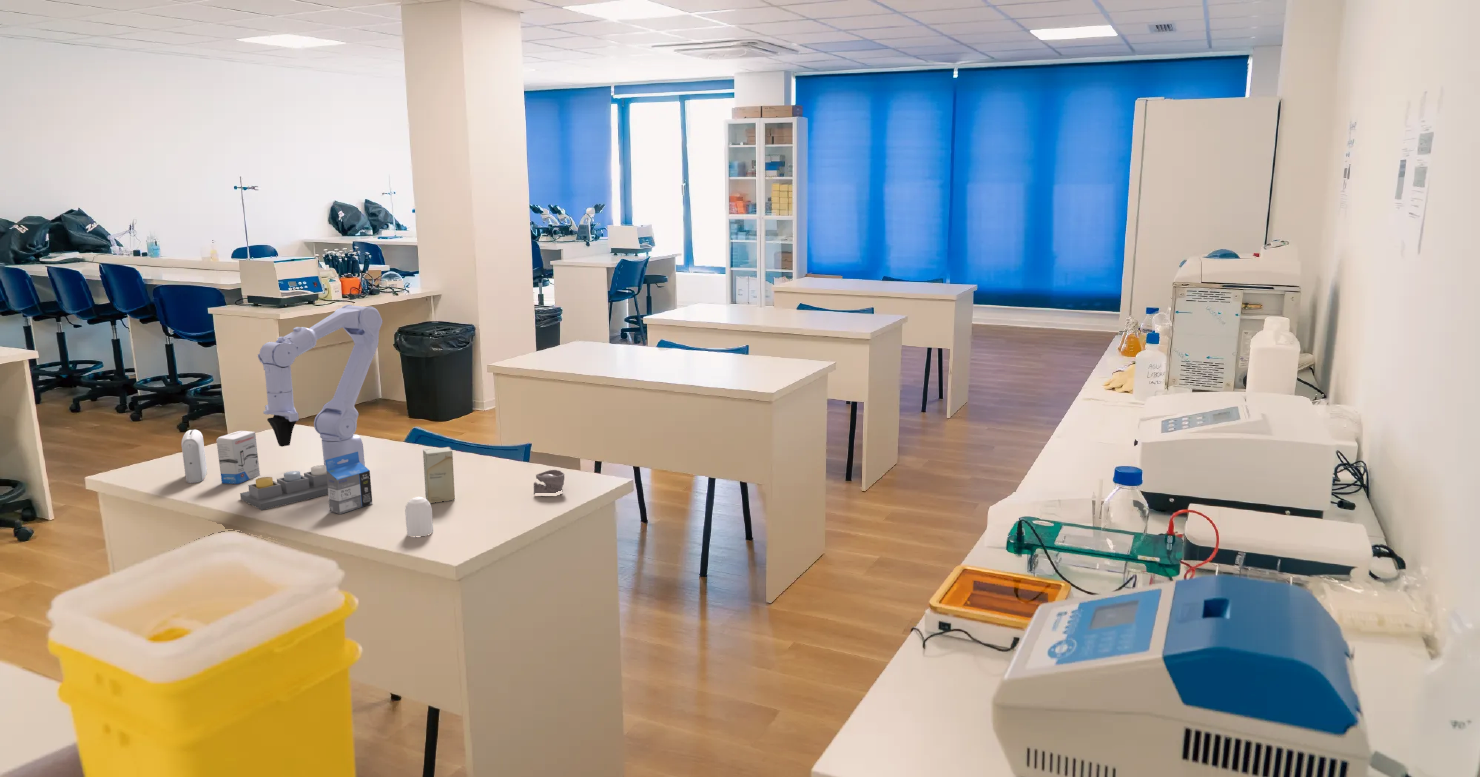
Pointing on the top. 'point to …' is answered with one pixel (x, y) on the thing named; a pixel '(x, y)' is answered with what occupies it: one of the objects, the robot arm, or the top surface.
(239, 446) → the ink box
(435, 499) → the skincare box
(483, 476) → the top surface
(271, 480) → the amber button
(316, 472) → the ivory button
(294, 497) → the panel
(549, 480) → the dental mold
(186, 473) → the photo printer
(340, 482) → the label tape cartridge
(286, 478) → the slate button
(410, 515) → the white rounded cylinder
